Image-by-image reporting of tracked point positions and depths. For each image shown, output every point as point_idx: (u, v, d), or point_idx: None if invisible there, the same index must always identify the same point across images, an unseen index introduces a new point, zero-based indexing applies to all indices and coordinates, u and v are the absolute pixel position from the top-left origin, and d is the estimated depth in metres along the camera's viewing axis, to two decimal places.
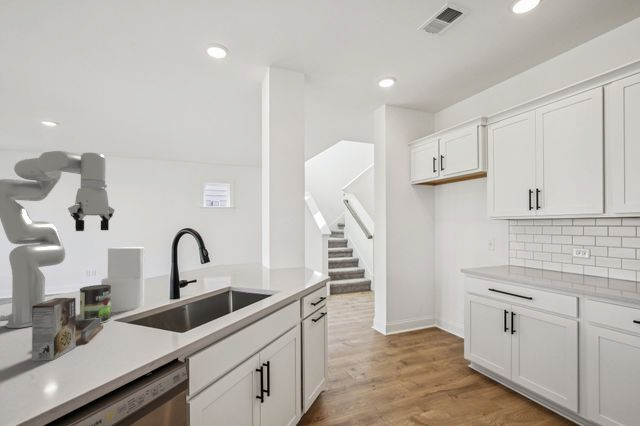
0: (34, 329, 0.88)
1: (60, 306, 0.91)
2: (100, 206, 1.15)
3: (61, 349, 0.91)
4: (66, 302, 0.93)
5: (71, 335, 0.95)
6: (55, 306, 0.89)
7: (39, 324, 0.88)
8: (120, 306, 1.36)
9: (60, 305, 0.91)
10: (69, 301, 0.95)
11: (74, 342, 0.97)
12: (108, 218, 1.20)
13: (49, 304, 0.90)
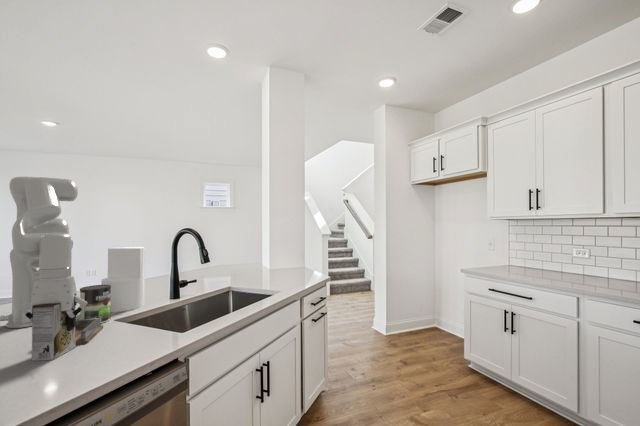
0: (34, 329, 0.88)
1: (60, 306, 0.91)
2: None
3: (60, 349, 0.91)
4: None
5: (71, 335, 0.95)
6: (55, 306, 0.89)
7: (39, 324, 0.88)
8: (120, 306, 1.36)
9: (60, 305, 0.91)
10: None
11: (74, 342, 0.97)
12: None
13: (49, 304, 0.90)
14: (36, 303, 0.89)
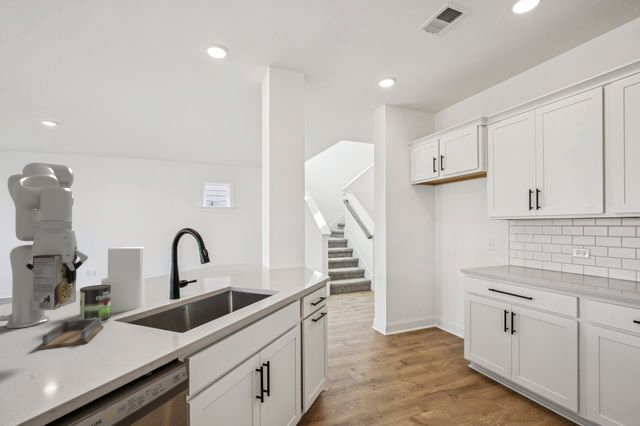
0: (35, 279, 0.89)
1: (60, 258, 0.91)
2: None
3: (61, 300, 0.91)
4: None
5: (71, 289, 0.96)
6: (56, 257, 0.89)
7: (39, 274, 0.89)
8: (120, 306, 1.36)
9: (61, 257, 0.91)
10: None
11: (74, 296, 0.97)
12: None
13: (50, 255, 0.90)
14: (37, 254, 0.90)
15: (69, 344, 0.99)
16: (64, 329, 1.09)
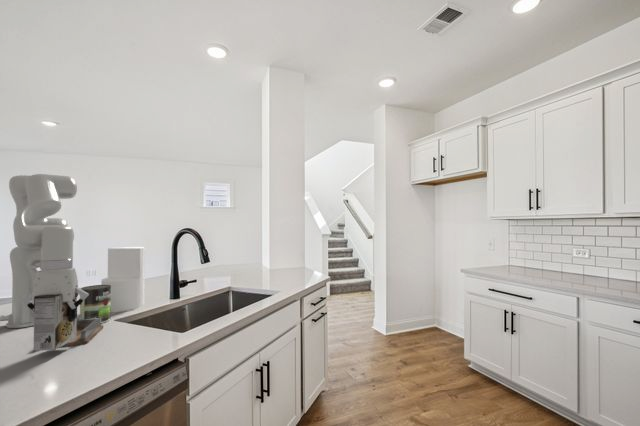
0: (36, 319, 0.89)
1: (61, 297, 0.92)
2: None
3: (62, 339, 0.92)
4: None
5: (72, 326, 0.96)
6: (56, 297, 0.90)
7: (40, 314, 0.89)
8: (120, 306, 1.36)
9: (61, 296, 0.92)
10: None
11: (75, 333, 0.98)
12: None
13: (50, 295, 0.91)
14: (38, 294, 0.90)
15: (69, 344, 0.99)
16: None
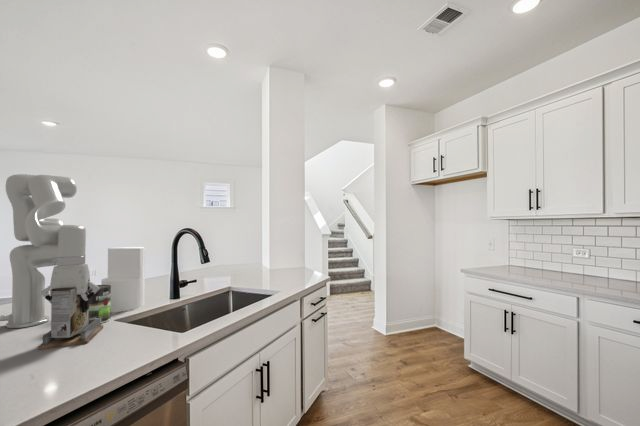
0: (53, 310, 0.99)
1: (75, 290, 1.02)
2: None
3: (76, 328, 1.02)
4: None
5: (84, 317, 1.06)
6: (71, 290, 1.00)
7: (57, 305, 0.99)
8: (120, 306, 1.36)
9: (75, 289, 1.02)
10: None
11: (87, 323, 1.08)
12: None
13: (66, 288, 1.01)
14: (55, 287, 1.00)
15: (69, 344, 0.99)
16: None
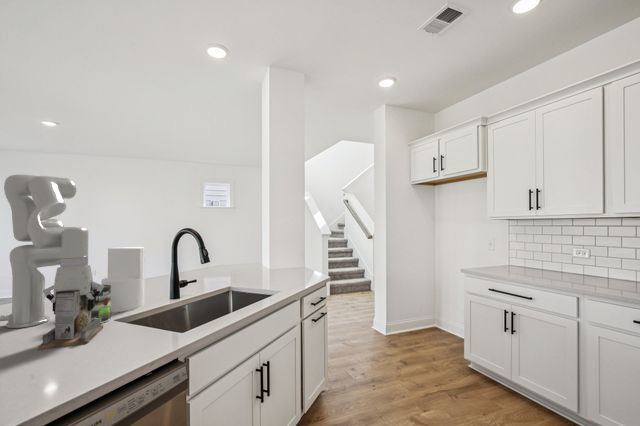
0: (57, 312, 1.01)
1: (79, 293, 1.04)
2: None
3: (79, 330, 1.04)
4: None
5: (87, 318, 1.08)
6: (75, 292, 1.02)
7: (61, 308, 1.01)
8: (120, 306, 1.36)
9: (79, 292, 1.04)
10: None
11: None
12: None
13: (70, 291, 1.03)
14: (58, 288, 1.02)
15: (69, 344, 0.99)
16: None
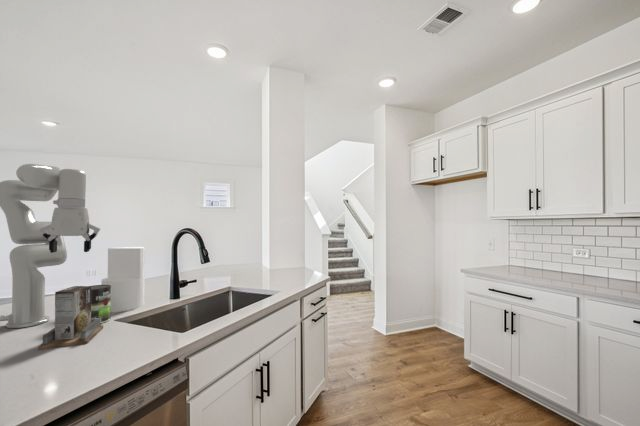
0: (57, 312, 1.01)
1: (78, 293, 1.04)
2: None
3: (79, 330, 1.04)
4: (83, 289, 1.07)
5: (87, 319, 1.08)
6: (75, 292, 1.02)
7: (61, 308, 1.01)
8: (120, 306, 1.36)
9: (79, 292, 1.04)
10: (86, 288, 1.08)
11: None
12: None
13: (69, 291, 1.03)
14: (55, 226, 1.04)
15: (69, 344, 0.99)
16: None
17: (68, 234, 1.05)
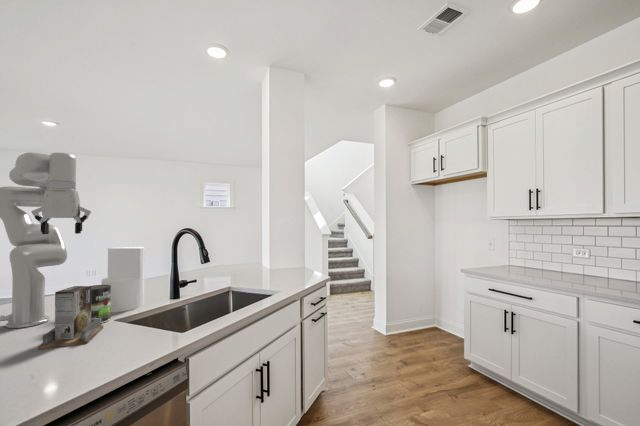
0: (57, 312, 1.01)
1: (78, 293, 1.04)
2: None
3: (79, 330, 1.04)
4: (83, 289, 1.07)
5: (87, 319, 1.08)
6: (75, 292, 1.02)
7: (61, 308, 1.01)
8: (120, 306, 1.36)
9: (79, 292, 1.04)
10: (86, 288, 1.08)
11: None
12: None
13: (69, 291, 1.03)
14: (46, 208, 1.07)
15: (69, 344, 0.99)
16: None
17: (59, 216, 1.08)
